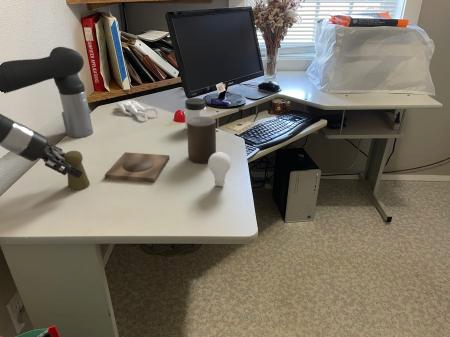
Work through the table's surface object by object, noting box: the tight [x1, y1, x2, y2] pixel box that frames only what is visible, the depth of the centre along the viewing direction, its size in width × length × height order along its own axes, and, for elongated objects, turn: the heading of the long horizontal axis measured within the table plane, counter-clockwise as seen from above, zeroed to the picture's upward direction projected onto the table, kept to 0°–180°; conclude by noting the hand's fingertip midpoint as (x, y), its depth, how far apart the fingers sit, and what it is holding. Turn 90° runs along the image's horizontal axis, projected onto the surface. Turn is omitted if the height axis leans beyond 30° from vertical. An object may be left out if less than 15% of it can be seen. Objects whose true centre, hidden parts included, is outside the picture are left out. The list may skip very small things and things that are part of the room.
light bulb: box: [207, 151, 232, 187], centre depth 101 cm, size 7×7×11 cm
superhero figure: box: [116, 99, 160, 122], centre depth 160 cm, size 12×6×25 cm
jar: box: [184, 97, 207, 130], centre depth 141 cm, size 9×8×12 cm
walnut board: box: [104, 151, 170, 183], centre depth 113 cm, size 16×16×2 cm
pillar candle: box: [186, 116, 217, 165], centre depth 117 cm, size 10×10×15 cm
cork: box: [63, 150, 91, 192], centre depth 101 cm, size 6×6×11 cm
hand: (77, 169), depth 101 cm, fingers open, 8 cm apart
